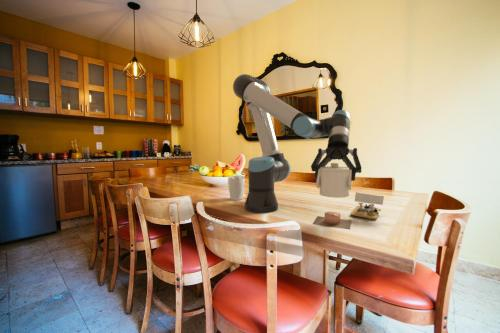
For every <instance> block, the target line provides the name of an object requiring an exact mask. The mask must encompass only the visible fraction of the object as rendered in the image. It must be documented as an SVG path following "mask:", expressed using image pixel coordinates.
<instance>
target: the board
mask: <svg viewBox="0 0 500 333" xmlns="http://www.w3.org/2000/svg"><path fill="white" fill-rule="evenodd" d="M312 225H316V226H323V227H331V228H338V229H346V230H351V225H352V220H351V219H343V218H340V224H337V225H333V224H328V223H325V216H321V215H317V216H316V218H315V219H314V221H313V223H312Z"/></svg>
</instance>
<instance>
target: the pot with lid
mask: <svg viewBox="0 0 500 333" xmlns="http://www.w3.org/2000/svg"><path fill="white" fill-rule="evenodd" d="M348 181H349V168H348V167H347V166H339V163H338V162H331V163H330V166H325V167H320V187H319V195H320V196H323V197H327V198H348V197H349V196H350V190H348Z"/></svg>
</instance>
